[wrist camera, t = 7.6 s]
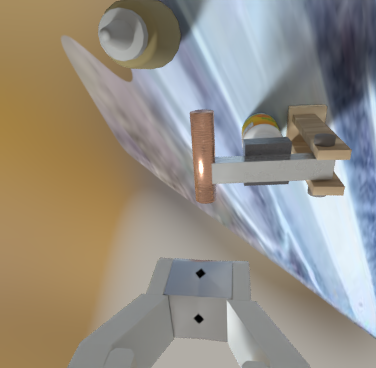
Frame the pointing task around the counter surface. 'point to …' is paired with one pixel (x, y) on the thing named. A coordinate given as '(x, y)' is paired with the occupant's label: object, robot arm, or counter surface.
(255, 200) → the counter surface
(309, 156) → the lever
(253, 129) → the supplement bottle
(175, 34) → the squeeze bottle
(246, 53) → the counter surface
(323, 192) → the press stand
